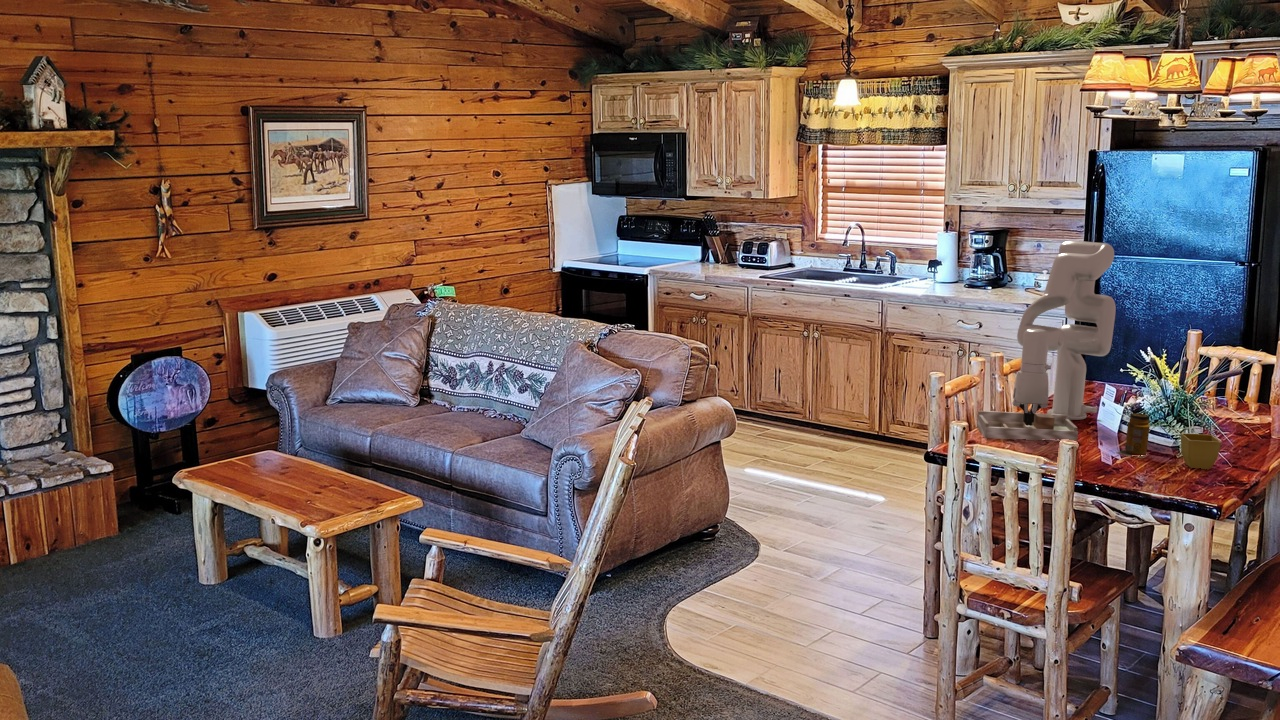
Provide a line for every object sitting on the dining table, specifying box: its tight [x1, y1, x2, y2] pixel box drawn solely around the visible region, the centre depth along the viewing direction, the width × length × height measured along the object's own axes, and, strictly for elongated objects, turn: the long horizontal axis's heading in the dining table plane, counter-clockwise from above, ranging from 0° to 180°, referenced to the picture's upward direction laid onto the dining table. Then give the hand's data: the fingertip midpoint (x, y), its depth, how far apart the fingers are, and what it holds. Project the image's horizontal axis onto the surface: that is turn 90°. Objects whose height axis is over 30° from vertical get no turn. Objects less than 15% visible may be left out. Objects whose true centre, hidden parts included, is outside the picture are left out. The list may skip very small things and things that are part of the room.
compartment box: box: [976, 410, 1079, 443], centre depth 358 cm, size 28×14×6 cm, turn 84°
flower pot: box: [1180, 432, 1222, 470], centre depth 326 cm, size 9×9×9 cm
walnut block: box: [1034, 412, 1055, 430], centre depth 357 cm, size 5×5×4 cm
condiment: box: [1116, 412, 1151, 459], centre depth 338 cm, size 7×8×12 cm
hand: (1028, 424), depth 358 cm, fingers closed
